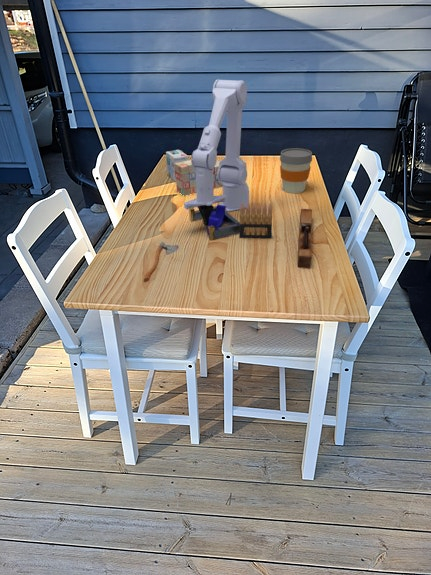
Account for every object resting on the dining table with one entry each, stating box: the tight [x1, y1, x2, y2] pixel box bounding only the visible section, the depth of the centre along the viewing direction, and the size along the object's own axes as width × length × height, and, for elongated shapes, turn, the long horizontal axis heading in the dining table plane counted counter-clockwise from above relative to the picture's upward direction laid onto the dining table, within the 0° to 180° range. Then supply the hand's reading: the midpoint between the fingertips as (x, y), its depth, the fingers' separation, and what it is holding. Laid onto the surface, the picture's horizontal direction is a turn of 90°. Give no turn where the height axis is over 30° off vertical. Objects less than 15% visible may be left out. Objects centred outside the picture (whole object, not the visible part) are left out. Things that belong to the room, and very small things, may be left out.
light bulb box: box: [165, 149, 189, 183], centre depth 188 cm, size 11×7×11 cm, turn 25°
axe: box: [143, 241, 180, 282], centre depth 129 cm, size 22×6×2 cm, turn 173°
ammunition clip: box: [238, 202, 273, 240], centre depth 138 cm, size 11×2×12 cm, turn 85°
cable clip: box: [206, 203, 226, 236], centre depth 145 cm, size 12×4×6 cm, turn 166°
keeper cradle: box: [188, 205, 240, 241], centre depth 147 cm, size 12×18×4 cm, turn 26°
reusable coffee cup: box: [279, 147, 313, 194], centre depth 171 cm, size 13×13×15 cm
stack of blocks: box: [175, 159, 223, 197], centre depth 176 cm, size 21×6×12 cm, turn 122°
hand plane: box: [296, 208, 313, 269], centre depth 135 cm, size 34×5×10 cm, turn 172°
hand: (205, 224), depth 147 cm, fingers closed, pressing on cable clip
